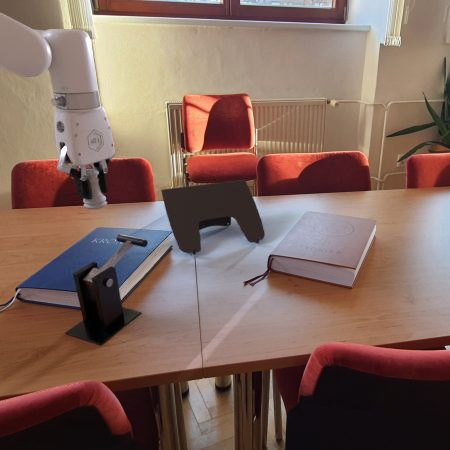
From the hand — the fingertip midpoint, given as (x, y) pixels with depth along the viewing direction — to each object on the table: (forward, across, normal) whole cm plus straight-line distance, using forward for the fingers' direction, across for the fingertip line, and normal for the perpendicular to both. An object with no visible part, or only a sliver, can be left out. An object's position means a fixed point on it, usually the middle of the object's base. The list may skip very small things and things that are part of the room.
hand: (93, 194), depth 89 cm
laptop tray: (+18, +26, -12) cm, 34 cm away
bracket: (+19, -15, -14) cm, 27 cm away
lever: (+8, -10, -14) cm, 19 cm away
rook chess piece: (+3, 0, 0) cm, 3 cm away
